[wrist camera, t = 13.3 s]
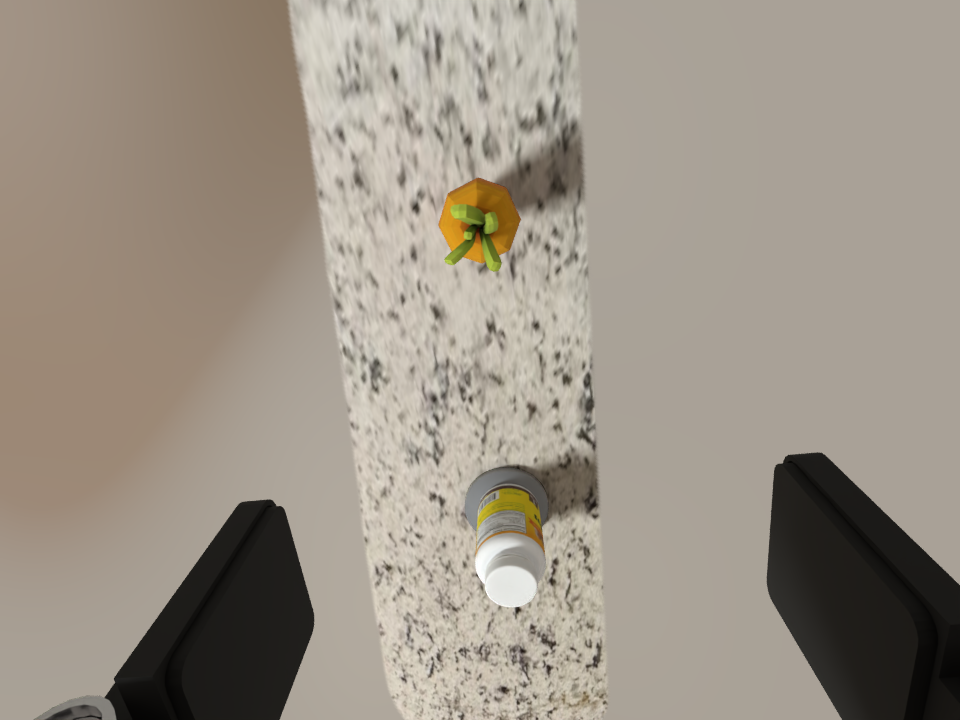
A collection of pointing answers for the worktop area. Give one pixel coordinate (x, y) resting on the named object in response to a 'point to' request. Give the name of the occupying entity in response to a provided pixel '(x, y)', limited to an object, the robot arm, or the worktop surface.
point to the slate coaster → (498, 478)
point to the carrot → (479, 223)
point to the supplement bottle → (509, 545)
